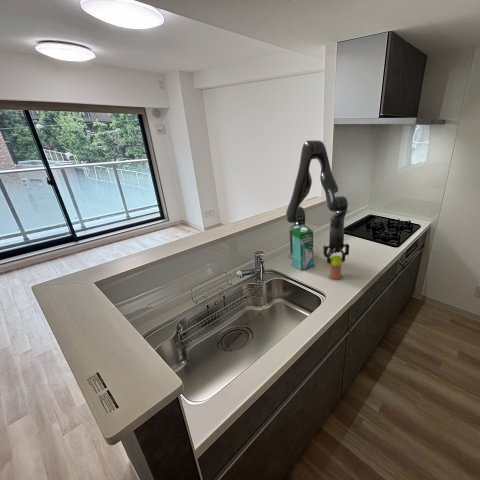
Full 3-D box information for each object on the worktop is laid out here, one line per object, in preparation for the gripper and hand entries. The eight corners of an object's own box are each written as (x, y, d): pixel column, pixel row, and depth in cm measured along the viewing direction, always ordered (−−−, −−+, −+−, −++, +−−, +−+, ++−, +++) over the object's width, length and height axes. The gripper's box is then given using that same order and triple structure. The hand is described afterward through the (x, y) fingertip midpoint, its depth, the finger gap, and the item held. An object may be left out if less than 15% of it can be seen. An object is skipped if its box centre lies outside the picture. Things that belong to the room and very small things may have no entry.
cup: (329, 275, 148) (329, 262, 145) (338, 273, 149) (339, 261, 146) (332, 280, 143) (332, 267, 140) (342, 278, 144) (342, 266, 141)
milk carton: (301, 270, 154) (300, 230, 144) (292, 264, 160) (291, 226, 151) (313, 266, 159) (313, 227, 149) (304, 260, 165) (303, 223, 156)
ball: (328, 264, 146) (328, 254, 143) (339, 262, 147) (339, 252, 144) (332, 269, 140) (332, 258, 137) (343, 268, 141) (343, 257, 139)
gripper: (347, 231, 141) (345, 258, 147) (321, 233, 138) (321, 260, 145) (352, 235, 134) (350, 264, 140) (325, 238, 132) (325, 267, 138)
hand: (335, 262), depth 142 cm, fingers open, 7 cm apart
